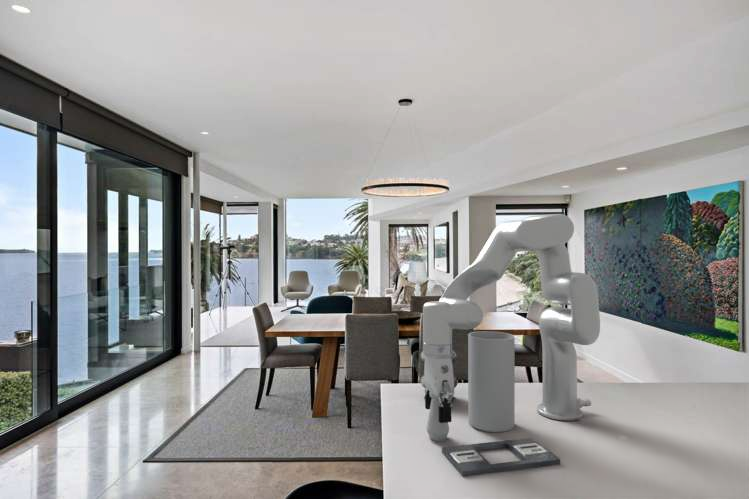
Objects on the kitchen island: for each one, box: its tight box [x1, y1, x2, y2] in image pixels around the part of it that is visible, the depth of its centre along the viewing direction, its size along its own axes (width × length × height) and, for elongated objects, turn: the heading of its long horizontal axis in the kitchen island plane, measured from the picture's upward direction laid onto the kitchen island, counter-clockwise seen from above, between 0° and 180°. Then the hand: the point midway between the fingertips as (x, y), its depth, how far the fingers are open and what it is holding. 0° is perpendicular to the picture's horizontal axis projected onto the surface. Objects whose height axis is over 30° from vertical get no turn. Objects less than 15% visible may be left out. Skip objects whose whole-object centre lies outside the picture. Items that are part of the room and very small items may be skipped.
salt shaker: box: [426, 392, 450, 442], centre depth 117 cm, size 6×6×13 cm
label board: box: [441, 437, 561, 478], centre depth 106 cm, size 24×12×2 cm, turn 103°
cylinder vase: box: [467, 330, 516, 434], centre depth 126 cm, size 12×12×25 cm
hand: (437, 415), depth 117 cm, fingers open, 9 cm apart
